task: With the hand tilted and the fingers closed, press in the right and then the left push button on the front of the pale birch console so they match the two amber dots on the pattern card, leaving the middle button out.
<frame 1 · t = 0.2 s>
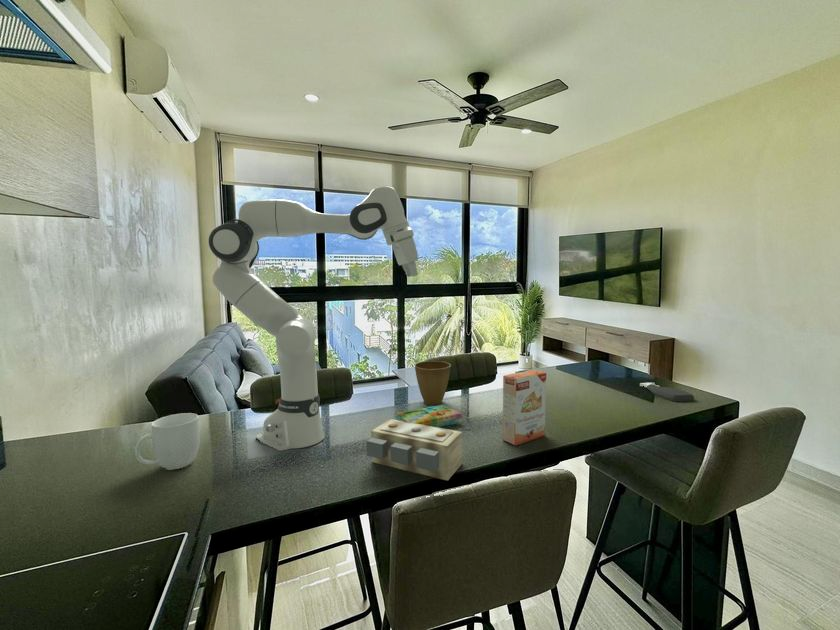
hand: (412, 276, 125), 52 cm above the kitchen island, tool tilted 20°, fingers open, 8 cm apart
puzzle game: (429, 424, 134), on the kitchen island
button left: (377, 448, 100), point 6 cm above the kitchen island, slide at 0.0 cm
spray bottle: (663, 394, 166), on the kitchen island
mug: (174, 466, 105), on the kitchen island
button right: (427, 459, 93), point 6 cm above the kitchen island, slide at 0.0 cm
console: (416, 462, 105), on the kitchen island
button middle: (401, 453, 97), point 6 cm above the kitchen island, slide at 0.0 cm
cracker box: (524, 438, 120), on the kitchen island
plant pot: (433, 402, 157), on the kitchen island
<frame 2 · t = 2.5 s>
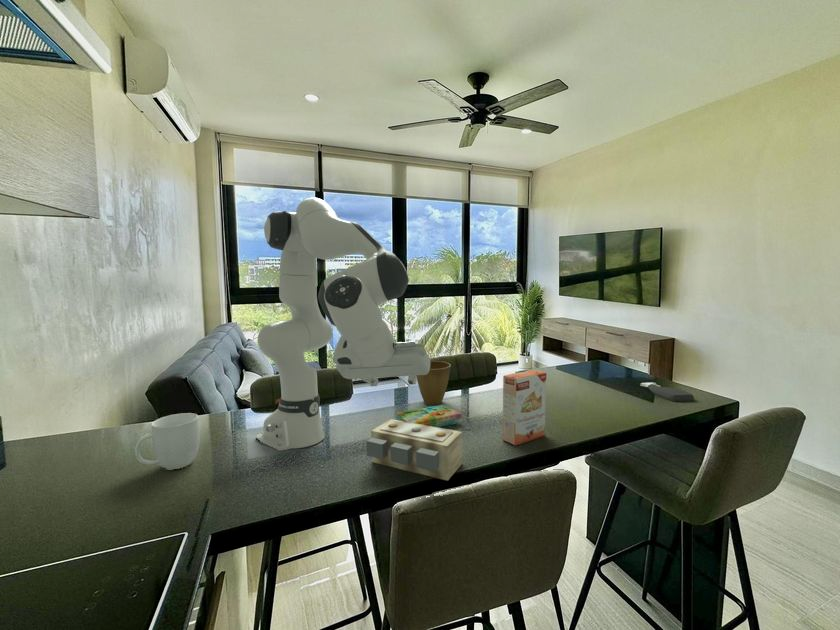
hand: (393, 382, 87), 27 cm above the kitchen island, tool tilted 40°, fingers open, 8 cm apart
nothing on the kitchen island moved.
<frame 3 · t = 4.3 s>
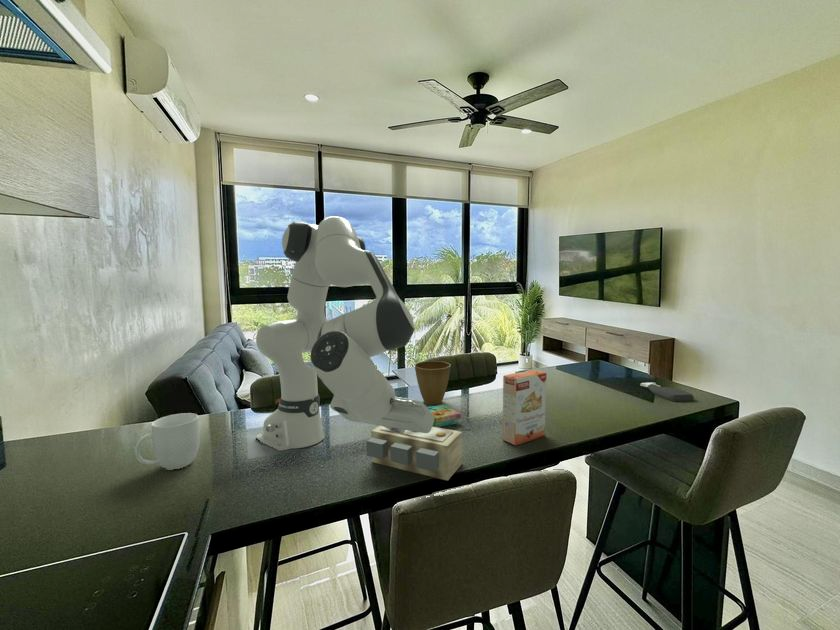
hand: (399, 429, 81), 18 cm above the kitchen island, tool tilted 45°, fingers closed
nothing on the kitchen island moved.
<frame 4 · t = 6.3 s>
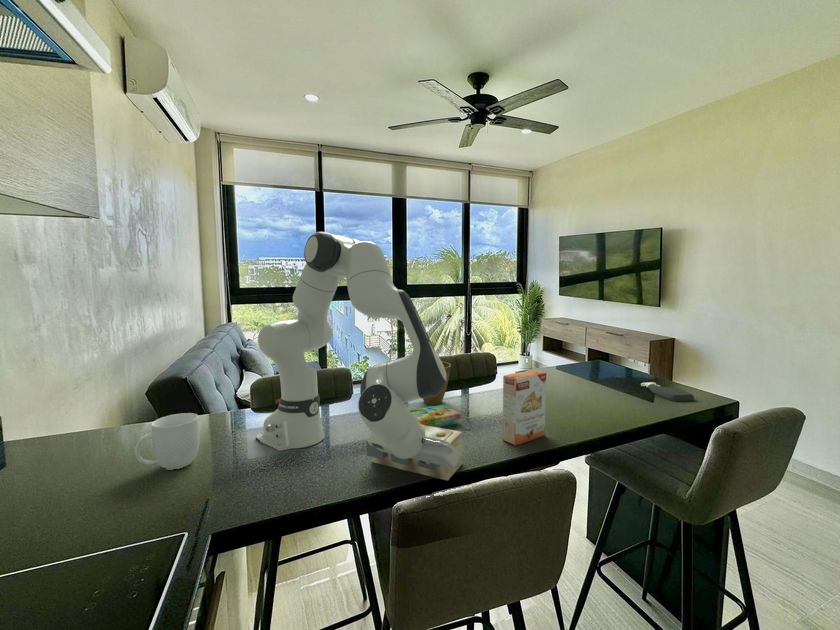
hand: (425, 460, 93), 6 cm above the kitchen island, tool tilted 45°, fingers closed, pressing on button right
button right: (429, 458, 94), point 6 cm above the kitchen island, slide at 0.8 cm, touching gripper
everything else where it was.
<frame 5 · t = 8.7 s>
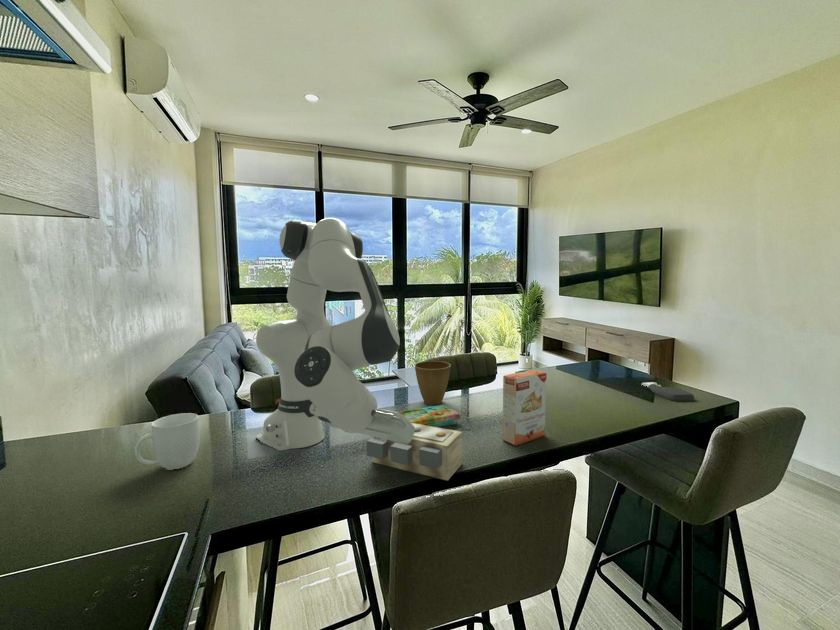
hand: (381, 437, 84), 16 cm above the kitchen island, tool tilted 45°, fingers closed
button right: (430, 456, 95), point 6 cm above the kitchen island, slide at 1.6 cm
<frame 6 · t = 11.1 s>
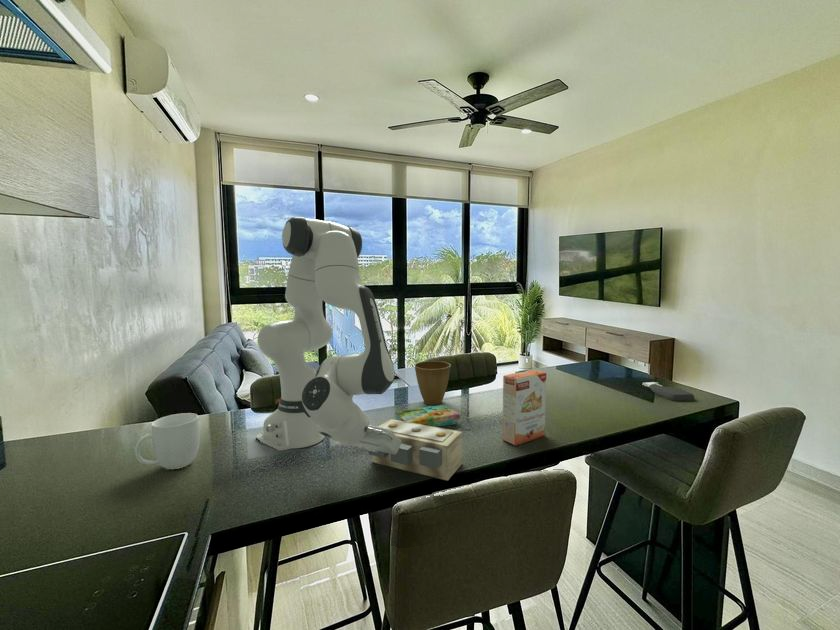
hand: (374, 448, 99), 6 cm above the kitchen island, tool tilted 45°, fingers closed, pressing on button left
button left: (378, 447, 101), point 6 cm above the kitchen island, slide at 0.8 cm, touching gripper
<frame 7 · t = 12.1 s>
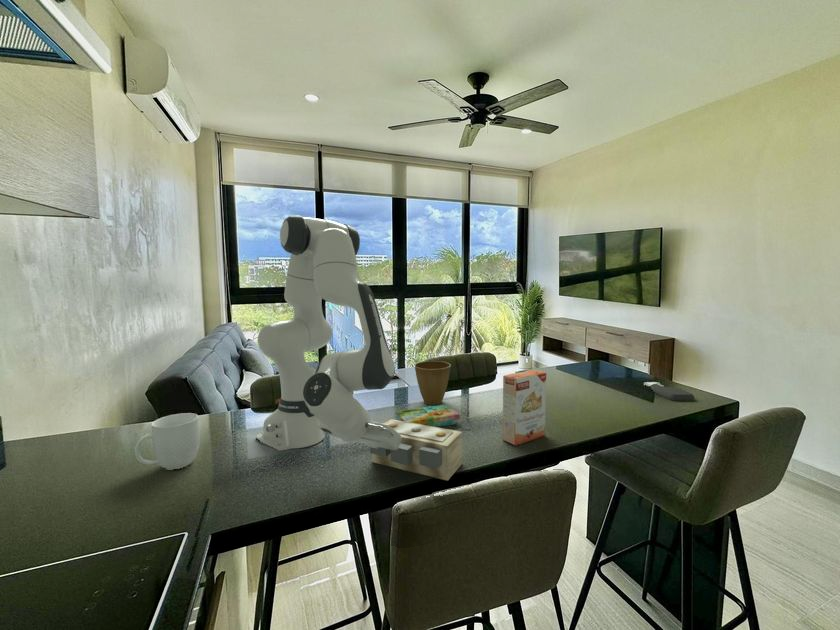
hand: (374, 445, 100), 7 cm above the kitchen island, tool tilted 45°, fingers closed
button left: (380, 445, 102), point 6 cm above the kitchen island, slide at 1.6 cm
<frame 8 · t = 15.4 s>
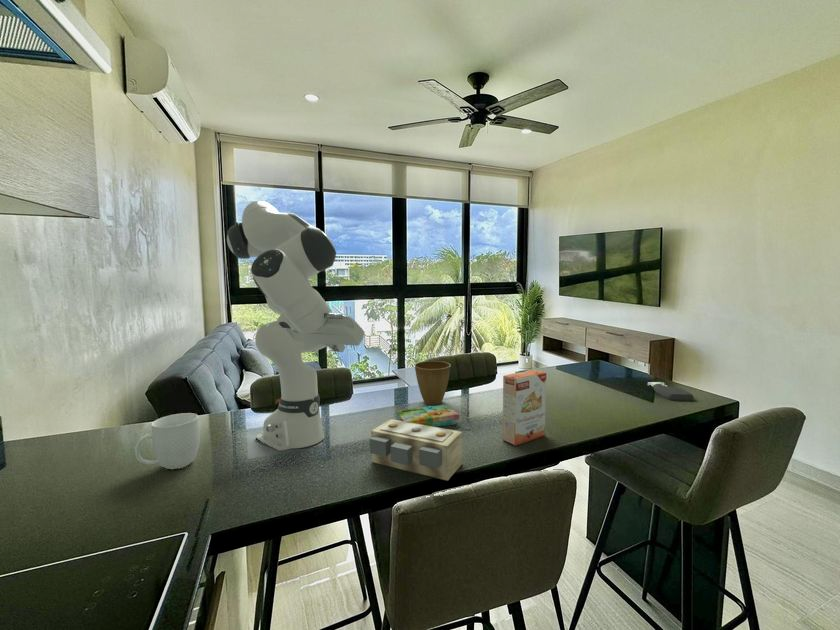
hand: (339, 349, 94), 33 cm above the kitchen island, tool tilted 45°, fingers closed
at the end: button right slide at 1.6 cm; button left slide at 1.6 cm; button middle slide at 0.0 cm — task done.
